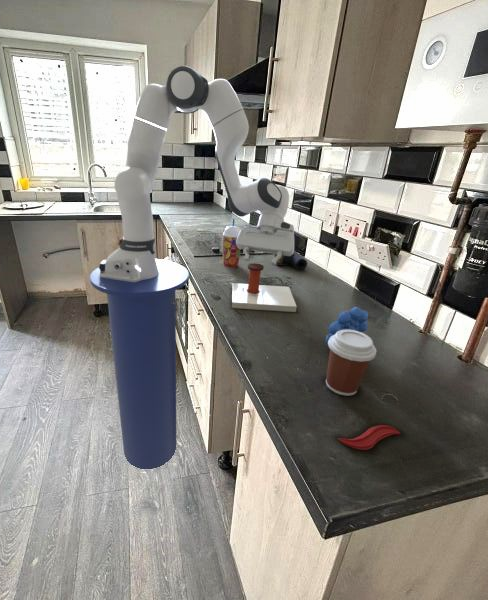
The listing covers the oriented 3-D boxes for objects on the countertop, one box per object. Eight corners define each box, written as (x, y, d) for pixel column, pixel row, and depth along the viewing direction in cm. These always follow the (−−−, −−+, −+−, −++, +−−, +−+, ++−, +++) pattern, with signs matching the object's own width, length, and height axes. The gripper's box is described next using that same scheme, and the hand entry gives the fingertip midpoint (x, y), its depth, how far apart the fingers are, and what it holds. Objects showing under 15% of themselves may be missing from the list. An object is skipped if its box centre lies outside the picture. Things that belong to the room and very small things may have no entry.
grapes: (348, 338, 87) (359, 298, 82) (367, 351, 82) (379, 309, 76) (312, 344, 84) (321, 303, 79) (329, 359, 78) (340, 315, 73)
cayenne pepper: (343, 450, 54) (345, 442, 53) (332, 428, 58) (334, 420, 57) (411, 448, 55) (414, 440, 54) (395, 427, 59) (398, 419, 58)
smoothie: (227, 261, 144) (230, 215, 135) (243, 265, 139) (247, 218, 131) (217, 265, 137) (219, 218, 129) (234, 270, 133) (237, 221, 125)
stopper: (245, 299, 108) (248, 268, 103) (244, 292, 112) (247, 262, 108) (260, 300, 107) (264, 269, 103) (259, 293, 112) (263, 263, 107)
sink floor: (231, 307, 101) (232, 302, 100) (232, 288, 116) (232, 283, 115) (295, 312, 100) (296, 306, 99) (288, 291, 115) (289, 286, 114)
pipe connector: (281, 258, 133) (270, 248, 146) (280, 270, 135) (269, 259, 148) (308, 258, 134) (294, 248, 148) (305, 270, 137) (293, 259, 150)
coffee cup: (310, 377, 71) (320, 330, 66) (341, 368, 75) (353, 323, 70) (341, 405, 64) (355, 355, 59) (373, 393, 67) (389, 345, 62)
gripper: (240, 219, 115) (229, 253, 111) (298, 226, 108) (289, 262, 104) (242, 229, 120) (232, 261, 116) (298, 236, 114) (289, 270, 110)
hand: (259, 261), depth 110 cm, fingers open, 8 cm apart
